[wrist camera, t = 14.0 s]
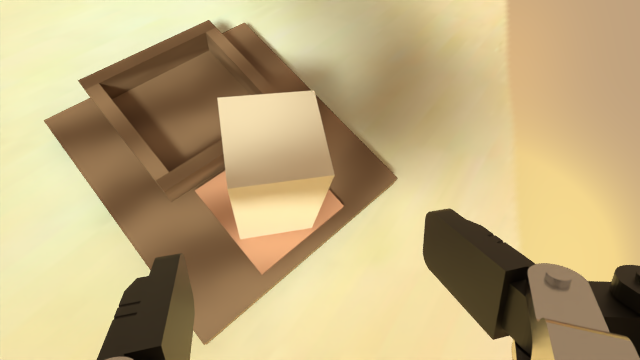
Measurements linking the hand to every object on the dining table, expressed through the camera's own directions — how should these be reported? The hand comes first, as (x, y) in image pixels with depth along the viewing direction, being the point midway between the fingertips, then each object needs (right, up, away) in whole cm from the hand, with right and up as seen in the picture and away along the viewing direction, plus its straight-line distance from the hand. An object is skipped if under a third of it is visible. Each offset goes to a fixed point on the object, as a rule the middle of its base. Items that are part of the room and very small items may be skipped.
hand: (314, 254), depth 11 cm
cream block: (-3, +1, +14) cm, 14 cm away
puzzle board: (-7, +4, +16) cm, 18 cm away
